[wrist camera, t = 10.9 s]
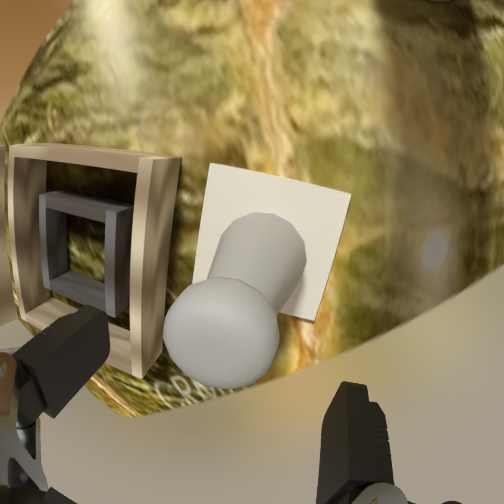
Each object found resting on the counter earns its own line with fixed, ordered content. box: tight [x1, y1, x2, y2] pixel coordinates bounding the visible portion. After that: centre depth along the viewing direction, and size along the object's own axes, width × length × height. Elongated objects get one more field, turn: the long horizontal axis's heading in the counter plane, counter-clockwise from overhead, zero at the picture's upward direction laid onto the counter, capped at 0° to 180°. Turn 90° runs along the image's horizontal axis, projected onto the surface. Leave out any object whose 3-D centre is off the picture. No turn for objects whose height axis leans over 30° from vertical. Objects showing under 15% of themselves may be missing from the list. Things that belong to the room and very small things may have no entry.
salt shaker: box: [163, 212, 307, 389], centre depth 16 cm, size 6×6×13 cm
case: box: [0, 143, 181, 379], centre depth 20 cm, size 19×18×14 cm
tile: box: [192, 163, 351, 321], centre depth 22 cm, size 10×10×1 cm
